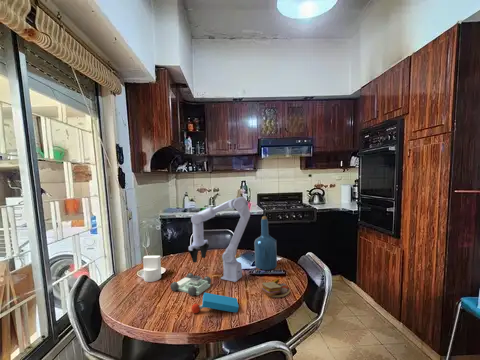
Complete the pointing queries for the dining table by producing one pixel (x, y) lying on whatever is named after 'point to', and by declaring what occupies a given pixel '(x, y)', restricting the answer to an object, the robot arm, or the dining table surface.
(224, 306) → the lever
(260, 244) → the wine bottle
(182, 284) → the chassis
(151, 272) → the cylinder with rectangular tab
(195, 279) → the grey boxy piece
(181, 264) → the dining table surface
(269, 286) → the toy sandwich meal
